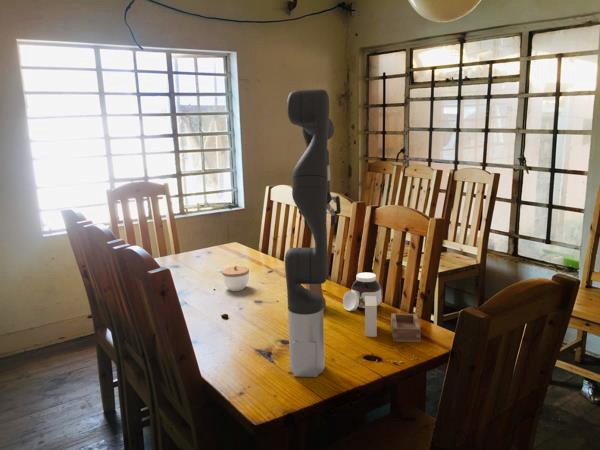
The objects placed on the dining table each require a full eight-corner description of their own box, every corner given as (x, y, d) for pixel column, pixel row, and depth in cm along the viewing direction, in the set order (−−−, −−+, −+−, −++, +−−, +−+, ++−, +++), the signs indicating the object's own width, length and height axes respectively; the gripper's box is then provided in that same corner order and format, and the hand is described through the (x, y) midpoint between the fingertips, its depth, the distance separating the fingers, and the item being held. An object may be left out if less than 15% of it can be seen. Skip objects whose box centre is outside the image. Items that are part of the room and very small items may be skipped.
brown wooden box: (420, 342, 143) (421, 329, 142) (393, 341, 144) (393, 328, 143) (416, 325, 155) (416, 313, 154) (391, 324, 156) (391, 313, 155)
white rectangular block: (376, 336, 148) (376, 305, 146) (365, 336, 148) (364, 305, 146) (376, 325, 155) (376, 296, 153) (365, 325, 156) (365, 296, 154)
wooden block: (326, 311, 168) (325, 261, 164) (313, 313, 167) (312, 263, 163) (318, 302, 177) (317, 255, 173) (306, 304, 176) (305, 256, 172)
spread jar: (383, 305, 172) (383, 274, 170) (371, 316, 163) (371, 283, 160) (352, 300, 178) (352, 269, 176) (339, 310, 169) (338, 278, 166)
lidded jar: (253, 290, 192) (252, 267, 190) (226, 294, 188) (225, 271, 186) (246, 282, 202) (244, 261, 200) (220, 286, 198) (219, 264, 196)
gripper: (296, 180, 161) (298, 228, 165) (339, 180, 159) (340, 228, 163) (299, 178, 169) (301, 223, 172) (340, 177, 167) (341, 223, 170)
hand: (320, 226), depth 167 cm, fingers open, 8 cm apart
